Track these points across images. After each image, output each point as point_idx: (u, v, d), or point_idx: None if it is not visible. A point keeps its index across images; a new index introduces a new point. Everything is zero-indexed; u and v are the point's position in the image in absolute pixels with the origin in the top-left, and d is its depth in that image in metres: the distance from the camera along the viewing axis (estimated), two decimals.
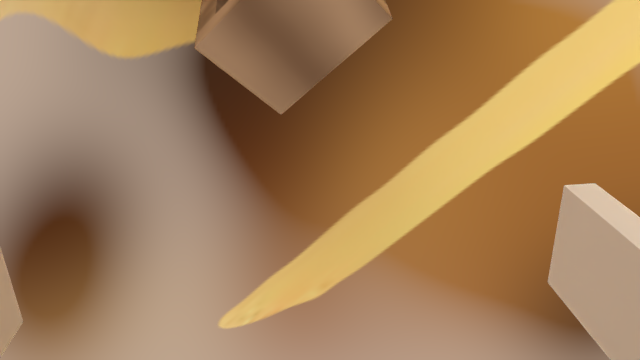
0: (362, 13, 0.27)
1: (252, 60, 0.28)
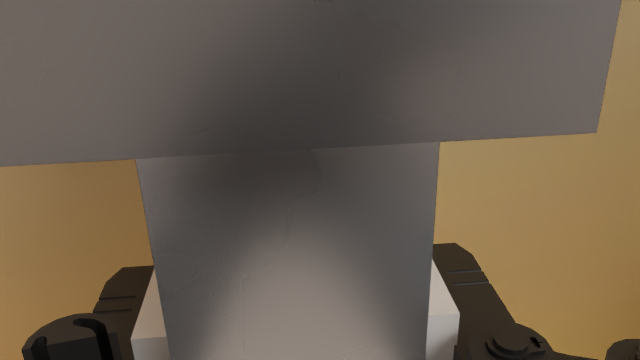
0: None
1: None
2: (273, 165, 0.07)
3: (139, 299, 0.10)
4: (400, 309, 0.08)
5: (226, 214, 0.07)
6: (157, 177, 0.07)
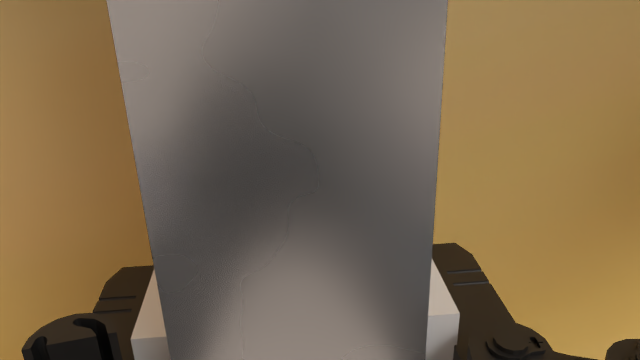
0: None
1: None
2: (273, 164, 0.07)
3: (139, 299, 0.10)
4: (400, 308, 0.08)
5: (226, 215, 0.07)
6: (157, 177, 0.07)
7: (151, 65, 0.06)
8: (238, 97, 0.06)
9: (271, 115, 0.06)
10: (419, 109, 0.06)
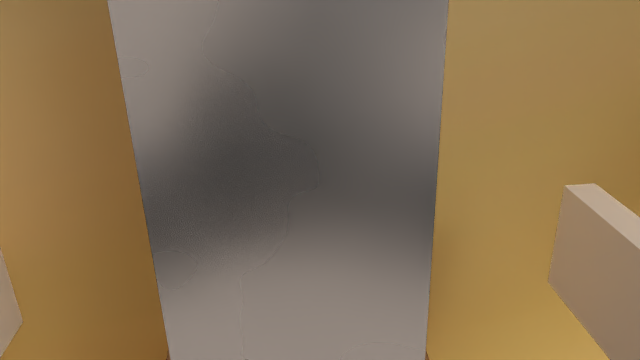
0: None
1: None
2: (273, 161, 0.07)
3: None
4: (400, 306, 0.08)
5: (225, 211, 0.07)
6: (156, 173, 0.07)
7: (152, 61, 0.06)
8: (239, 93, 0.06)
9: (271, 111, 0.06)
10: (419, 106, 0.06)
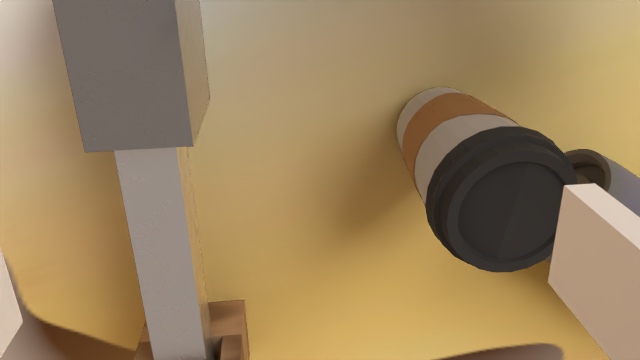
0: None
1: None
2: (161, 267, 0.36)
3: None
4: (190, 294, 0.37)
5: (153, 275, 0.36)
6: (139, 269, 0.36)
7: (138, 251, 0.35)
8: (154, 256, 0.35)
9: (160, 258, 0.35)
10: (187, 257, 0.36)
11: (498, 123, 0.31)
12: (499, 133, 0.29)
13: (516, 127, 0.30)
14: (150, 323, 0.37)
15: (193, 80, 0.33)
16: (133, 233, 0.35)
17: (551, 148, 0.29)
